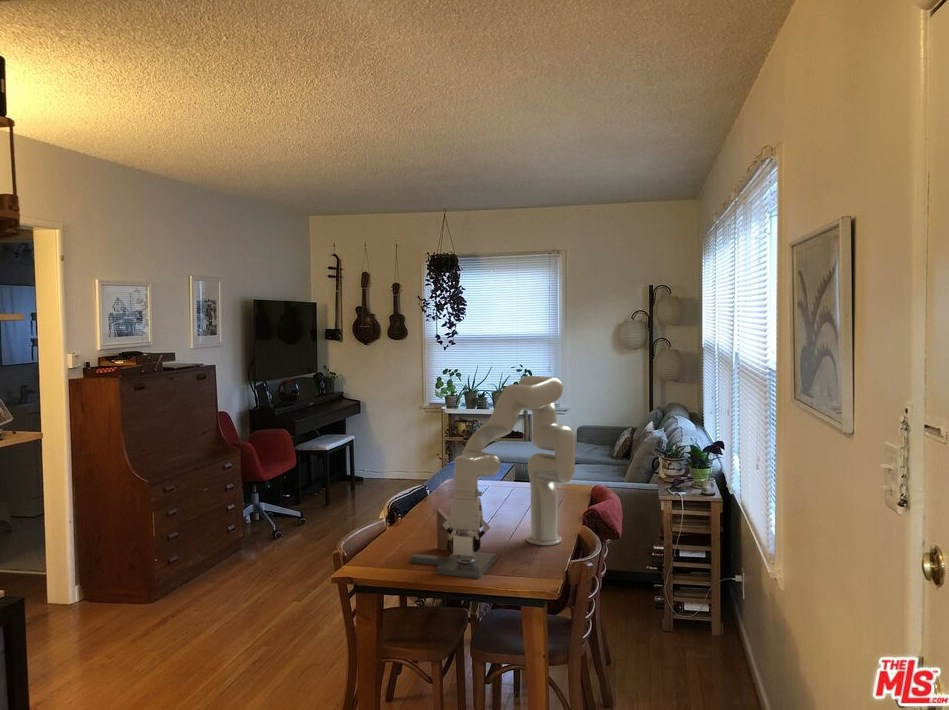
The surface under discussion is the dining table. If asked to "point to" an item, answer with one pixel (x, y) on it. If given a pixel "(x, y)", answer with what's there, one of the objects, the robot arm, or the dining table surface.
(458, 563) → the tang block
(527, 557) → the dining table surface
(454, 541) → the socket
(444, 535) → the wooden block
